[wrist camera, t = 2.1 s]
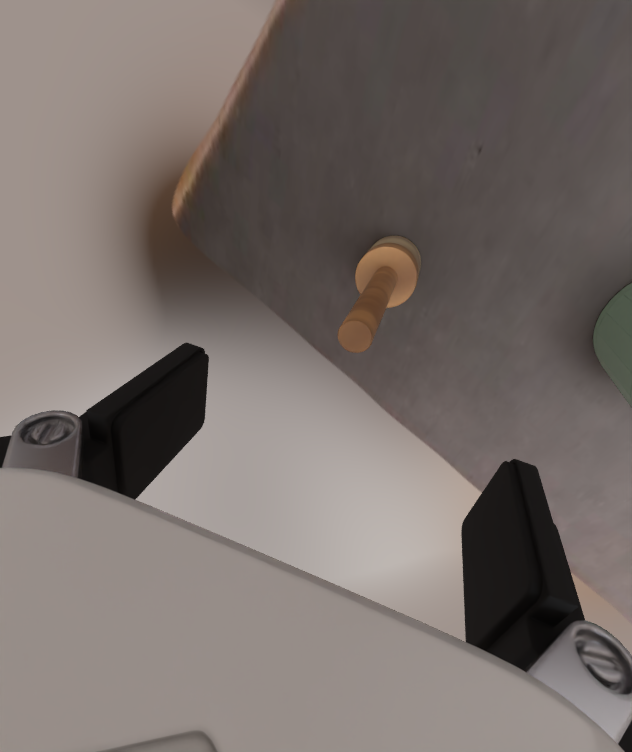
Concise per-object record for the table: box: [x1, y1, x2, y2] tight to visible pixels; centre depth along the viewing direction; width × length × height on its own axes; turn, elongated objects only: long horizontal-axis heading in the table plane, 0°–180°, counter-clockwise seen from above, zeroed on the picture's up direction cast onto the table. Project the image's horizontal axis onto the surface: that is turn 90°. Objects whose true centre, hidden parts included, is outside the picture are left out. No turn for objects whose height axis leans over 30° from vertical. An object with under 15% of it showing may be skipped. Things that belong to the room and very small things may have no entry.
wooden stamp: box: [338, 236, 421, 353], centre depth 26 cm, size 5×5×16 cm
